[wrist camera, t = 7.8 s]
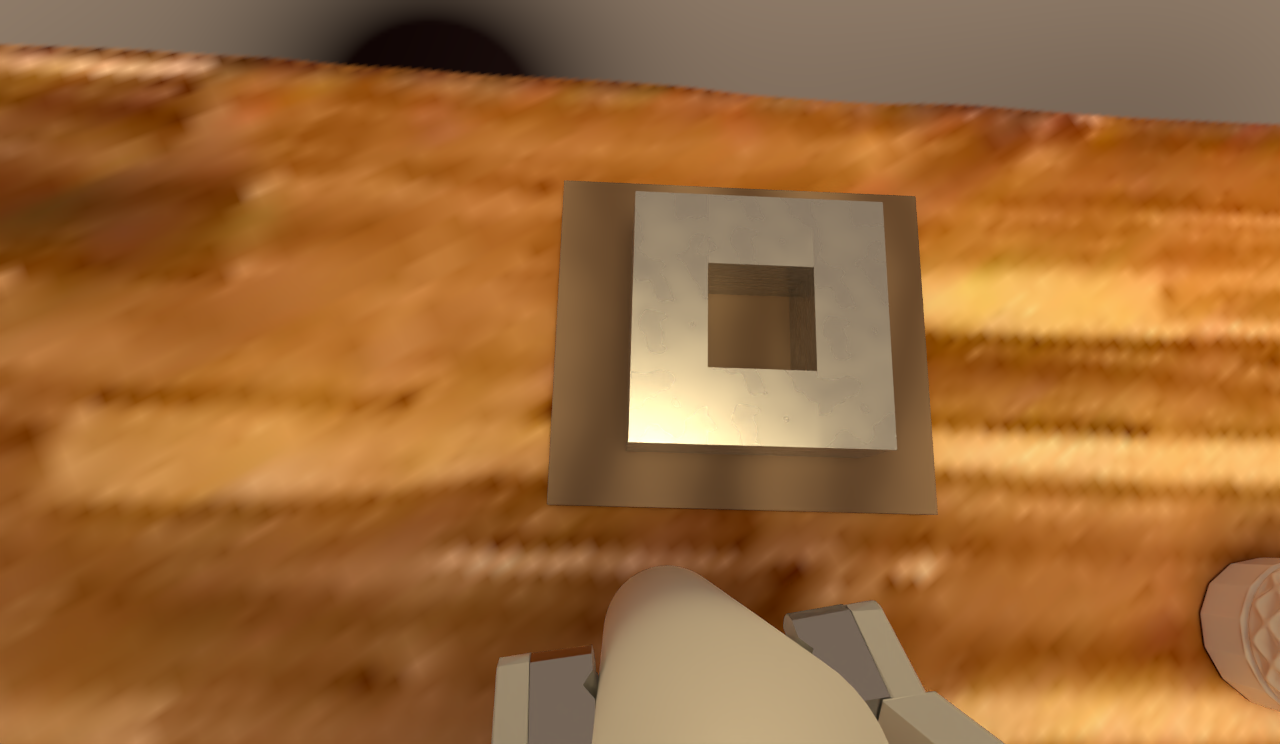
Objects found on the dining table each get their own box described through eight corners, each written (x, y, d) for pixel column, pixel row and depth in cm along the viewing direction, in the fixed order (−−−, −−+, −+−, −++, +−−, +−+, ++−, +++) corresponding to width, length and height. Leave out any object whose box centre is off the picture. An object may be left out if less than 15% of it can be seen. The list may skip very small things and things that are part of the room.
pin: (600, 700, 16) (576, 991, 6) (606, 563, 17) (594, 631, 7) (731, 704, 16) (911, 998, 6) (732, 568, 17) (896, 641, 7)
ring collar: (625, 451, 30) (628, 442, 26) (632, 229, 33) (635, 190, 29) (860, 458, 31) (897, 449, 27) (850, 238, 33) (882, 201, 29)
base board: (548, 504, 31) (547, 504, 30) (565, 190, 34) (564, 180, 33) (927, 514, 31) (937, 514, 30) (906, 205, 35) (915, 196, 34)
